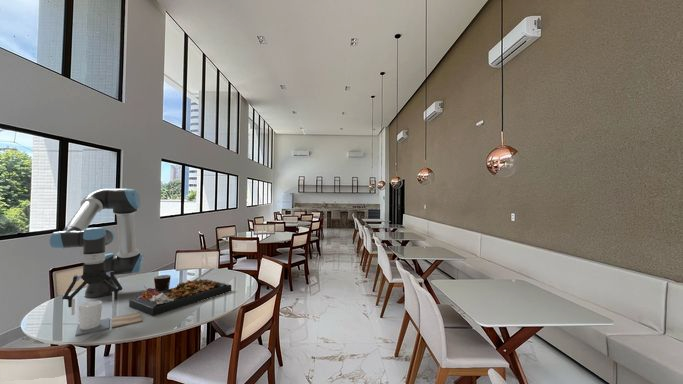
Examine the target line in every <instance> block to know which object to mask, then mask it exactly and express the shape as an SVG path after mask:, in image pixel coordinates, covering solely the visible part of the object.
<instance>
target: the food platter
mask: <svg viewBox="0 0 683 384" xmlns="http://www.w3.org/2000/svg"><path fill="white" fill-rule="evenodd" d="M143 287H144V288H145V291H143V292H141V293H140V295H137V296H135V297H134V298H129V301H128V307H129V308H132V309H134V310H136V311H139V312H140V313H144V314H146V315H148V316H151V317H156V316H159V315H162V314H165V313H167V312H170V311H171V312H172V311H174V310H177V309H179V308H180V309H181V308H183V307H186V306H190V305H192V304H196V303H199V302H202V301H205V300H208V299H211V298H210V297H212V298H214V297H213V296H215V297H218V296H220V294H221V295H223V293H224V294H227V293H230V292H232V284H230V283H225V282H221V281H216V280H211V279H207V278H206V279H201V278H199V279H198V280H197V279H194V280H187V281H185V282H179V283H177V285H176V286H175V287H172V288H169V289H168V290H164V291H157V290H158V289H157V290H156V288H155V287H154V288H150V287H148V288H146V287H145V285H143ZM229 291H230V292H229ZM226 292H227V293H226ZM217 295H218V296H217ZM207 298H208V299H207ZM204 299H205V300H204ZM201 300H202V301H201ZM198 301H199V302H198ZM189 304H190V305H189Z"/></svg>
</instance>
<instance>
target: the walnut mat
mask: <svg viewBox="0 0 683 384" xmlns="http://www.w3.org/2000/svg"><path fill="white" fill-rule="evenodd" d="M142 322H143V318H142V314H141V311H139V312H134V313H133V312H132V313H127V314H124V315H118V316H114V317H111V329H114V328H120V327H125V326H128V325H129V326H130V325H133V324H139V323H142Z"/></svg>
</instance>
